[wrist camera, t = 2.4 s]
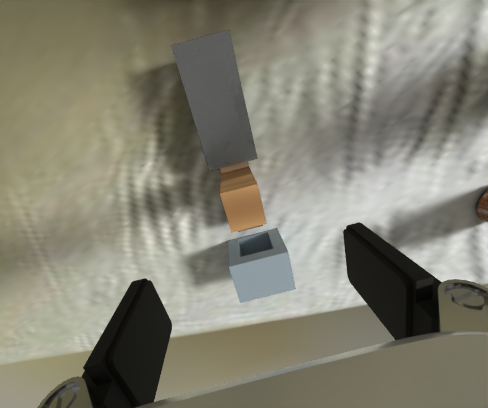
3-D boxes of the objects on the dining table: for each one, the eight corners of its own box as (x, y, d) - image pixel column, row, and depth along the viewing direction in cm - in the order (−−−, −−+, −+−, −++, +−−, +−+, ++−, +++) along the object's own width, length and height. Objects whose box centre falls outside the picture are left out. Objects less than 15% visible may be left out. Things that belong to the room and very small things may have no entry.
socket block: (228, 240, 32) (228, 267, 26) (276, 228, 31) (288, 251, 26) (237, 272, 34) (240, 303, 28) (283, 260, 33) (295, 289, 28)
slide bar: (192, 66, 23) (170, 30, 14) (221, 58, 23) (218, 17, 14) (236, 221, 30) (242, 268, 20) (259, 215, 30) (275, 260, 20)
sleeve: (181, 59, 24) (170, 45, 19) (228, 47, 24) (228, 29, 19) (212, 162, 28) (209, 171, 23) (252, 151, 28) (257, 158, 23)
